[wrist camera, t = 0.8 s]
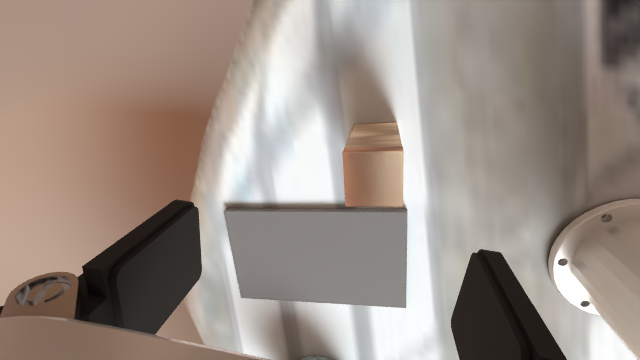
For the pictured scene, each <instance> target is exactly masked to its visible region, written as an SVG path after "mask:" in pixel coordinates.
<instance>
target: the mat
mask: <svg viewBox="0 0 640 360" xmlns="http://www.w3.org/2000/svg"><path fill="white" fill-rule="evenodd" d="M224 215H225V220H226V225H227V230H228V235H229V240H230V245H231V250H232V254H233V259H234V264H235V269H236V274H237V279H238V284H239V289H240V294H241V298H253V299H270V300H286V301H302V302H318V303H334V304H351V305H367V306H383V307H399V308H406V271H407V209H292V208H227V209H226V210H225V211H224Z"/></svg>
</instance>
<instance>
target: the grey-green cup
mask: <svg viewBox="0 0 640 360" xmlns="http://www.w3.org/2000/svg"><path fill="white" fill-rule="evenodd" d="M300 360H331V359H329V358H326V357H322V356H308V357H304V358H302V359H300Z"/></svg>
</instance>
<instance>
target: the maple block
mask: <svg viewBox="0 0 640 360" xmlns="http://www.w3.org/2000/svg"><path fill="white" fill-rule="evenodd" d="M342 154H343V172H344V189H345V206H389V207H403V147H402V144H401V139H400V134H399V130H398V125H397V122H393V123H371V124H354V126H353V129H352V131H351V134H350V136H349V139H348V141H347V144H346V146H345V148H344V150H343V152H342Z"/></svg>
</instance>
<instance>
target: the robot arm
mask: <svg viewBox="0 0 640 360" xmlns="http://www.w3.org/2000/svg"><path fill="white" fill-rule="evenodd" d="M82 268H83V274H82V275H80V276H79V277H77V276H75V275H74V274H72V273H68V272H53V273H47V274H44V275H40V276H37V277H34V278H32V279H29V280H27V281H25V282H24V283H22V284H20V285H19V286H17V287H16V288H15V289H14V290H13V291H11V293H10V294H9V296H8V297H7V299H6V302H5V305H4V306H1V307H0V360H270V359H265V358H260V357H256V356H251V355H247V354H242V353H238V352H233V351H228V350H224V349H219V348H214V347H210V346H205V345H200V344H195V343H191V342H186V341H181V340H177V339H172V338H167V337H162V336H158V335H155V334H156V333H157V331H158V330H159V329H160V328H161V326H162V325H163V324H164V323H165V321H166V320H167V319H168V317H169V316H170V315H171V314H172V312H173V311H174V310H175V309H176V307H177V306H178V305H179V304H180V302H181V301H182V300H183V299H184V297H185V296H186V295H187V294H188V292H189V291H190V290H191V289H192V287H193V286H194V285H195V284H196V282H197V281H198V280H199V278H200V276H201V272H202V264H201V246H200V229H199V212H198V208H197V207H195V206H194V204H193V203H192V202H188V201H182V200H174V201H173V202H171V203H170V204H168V205H167V206H166V207H165V208H163V209H162V210H160V211H159V212H157V213H156V214H154V215H153V216H152V217H150V218H149V219H148V220H146V221H145V222H143V223H142V224H141V225H139V226H138V227H136V228H135V229H134V230H132V231H131V232H129V233H128V234H127V235H125V236H124V237H122V238H121V239H120V240H118V241H117V242H116V243H114V244H113V245H111V246H110V247H109V248H107V249H106V250H104V251H103V252H102V253H100V254H99V255H97V256H96V257H95V258H93V259H92V260H91V261H89V262H88V263H86V264H85V265H84V266H82ZM548 269H549V273H550V277H551V280H552V282H553V283H554V285H555V287H556V288H557V290H558V291H559V292H560V293H561V295H562V296H563V297H564V298H565V299H566V300H567V301H569V302H570V303H571V304H572V305H574V306H576V307H577V308H579V309H581V310H584V311H586V312H589V313H592V314H596V315H600V316H601V317H602V318H603V319H604V321H605V322H606V323H607V324H608V325H609V326H610V328H611V329H612V330H613V331H614V332H615V334H616V335H617V336H618V337H619V338H620V340H621V341H622V342H623V343H624V344H625V346H626V347H627V348H628V349H629V350H630V352H631V353H632V354H633V355H634V356H635V358H636V359H637V360H640V199H626V200H619V201H614V202H611V203H607V204H604V205H600V206H598V207H596V208H594V209H592V210H589V211H587V212H585V213H584V214H582V215H581V216H579V217H578V218H576V219H575V220H573V221H572V222H571V223H570V224H569V225H568V226H567V227H565V228H564V229H563V231H562V232H561V233H560V235H559V236H558V237H557V238H556V240H555V242H554V244H553V246H552V248H551V251H550V255H549V259H548ZM451 328H452V332H453V336H454V340H455V344H456V347H457V351H458V355H459V359H460V360H567V359H566V357H565V356H564V354H563V352H562V351H561V349H560V348H559V346H558V344H557V343H556V341H555V339H554V338H553V336H552V335H551V333H550V331H549V330H548V328H547V326H546V325H545V323H544V322H543V320H542V318H541V317H540V315H539V313H538V312H537V310H536V309H535V307H534V305H533V304H532V303H531V301H530V299H529V298H528V296H527V295H526V293H525V291H524V290H523V288H522V286H521V285H520V283H519V281H518V280H517V278H516V277H515V275H514V273H513V272H512V270H511V268H510V267H509V265H508V264H507V262H506V260H505V259H504V257H503V255H502V254H501V253H500V252H495V251H489V250H483V249H480V250H479V251H478V253H472V255H471V257H470V261H469V264H468V267H467V270H466V273H465V277H464V280H463V283H462V286H461V289H460V292H459V296H458V299H457V302H456V305H455V308H454V311H453V315H452V318H451Z"/></svg>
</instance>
